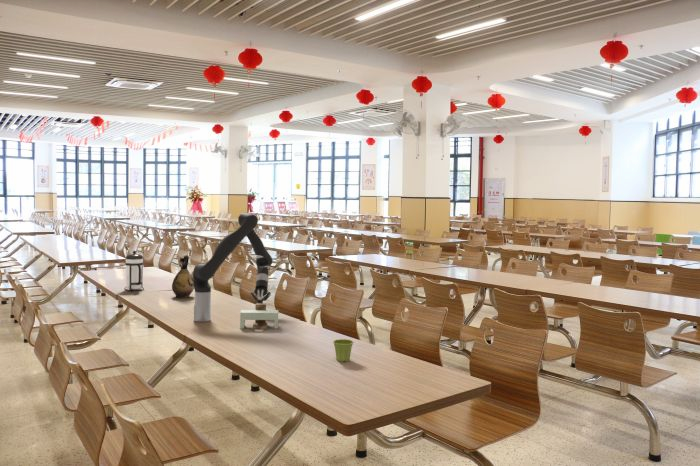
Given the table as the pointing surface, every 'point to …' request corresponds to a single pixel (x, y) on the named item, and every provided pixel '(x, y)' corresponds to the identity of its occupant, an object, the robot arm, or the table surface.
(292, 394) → the table surface
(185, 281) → the ceramic jug
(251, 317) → the pale green bench
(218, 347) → the table surface
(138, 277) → the coffee press
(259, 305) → the brown wooden block
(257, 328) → the disc
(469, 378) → the table surface
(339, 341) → the plant pot
